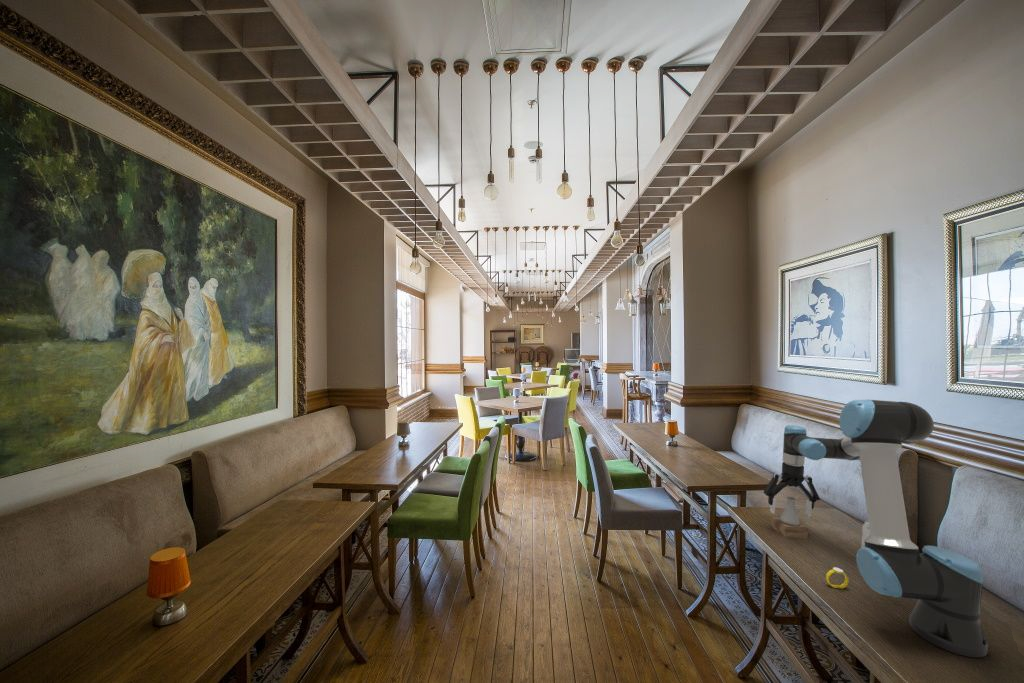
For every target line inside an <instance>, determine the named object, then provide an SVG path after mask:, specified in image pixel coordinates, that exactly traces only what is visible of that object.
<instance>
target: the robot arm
mask: <svg viewBox="0 0 1024 683" xmlns="http://www.w3.org/2000/svg"><path fill="white" fill-rule="evenodd" d="M839 415H840V416H839V420H838V421H839V428H840V431H842V434H843V435H844V436H845V437H843V438H826V437H811V436H808V434H807V428H806V427H804V426H800V425H795V424H794V425H793V424H792V425H785V427H784V431H783V448H782V463H781V464H782V465H781V474H780V473H779V474H778V473H777V472H773V475H772V477H771V479H770V481H769V482H768V484H767V486H766V487H765V489H764V490H763V494H764V495H765V496H767V498H768V499H767V500H768V501H767V504H768V505H769V512H770V513H771V514H772V515H775V514H776V513H775V512H776V496H777V495H778V494H779V493H780V492H781V491H782V490H784V488H787V486H788V487H795V488H797V487H799V488H800V490H802V492H803V493H804V494H805V496H806V497H807V498H806V500H805V501H806V502H805V503H806V504H805V515H806V516H807V517H808V518H812V510H814V508H815V503H816V502H817V501H820V500H821V497H820V496H819V494H818V492H817V489H816V487H815V485H814V483H813V478H812V477H811V476H809V475H808V474H807V475H806V476H805V475H804V473H805V466H804V465H805V461H806V460H805V459H806V458H807V459H809V460H811V461H819V460H821V459H834V460H844V461H845V460H846V461H859V462H860V469H861V476H862V485H863V492H864V493H863V494H864V498H865V506H866V514H867V521H868V523H869V530H870V535H869V536H868V537H867V538H866V539H865V540H864V542H865V547H862V548H861V547H860V548H859V549H858V550H857V553H856V554H855V555H856V556H855V557H856V564H857V569H858V570H859V573H860V575H861V577H862V579H863V580H864V581H865V583H866V585H868V586H869V587H870V588H871V589H872V590H873V591H874V592H876V593H878V595H879V594H880V595H882V596H888V597H893V598H904V599H905V598H906V599H915V600H917V602H916V604H915V605H914V607H913V610H912V611H911V612H910V613H909V616H908V617H909V618H908V619H909V620H908V624H909V627H910V628H911V630H913V632H915V634H916V635H918V636H920V638H922V639H924V640H925V641H927V642H928V643H930V644H932V645H935V646H936V647H939V648H940V649H943V650H945V651H947V652H949V653H950V652H951V653H953V654H957V655H960V656H965V657H968V658H976V659H977V658H979V659H980V658H984V657H986V656H987V655H988V650H989V649H988V646H989V645H988V642H987V637H986V635H985V633H984V630H983V627H982V623H981V620H980V619H981V605H982V597H983V585H984V580H983V579H984V578H983V577H984V576H983V575H984V574H983V573H984V572H983V569H982V567H981V566H980V565H979V564H978V563H977V562H975V561H973V560H971V559H970V558H968V557H966V556H965V555H962V554H960V553H958V552H955V551H953V550H949V549H946V548H943V547H939V546H935V545H923V547H922V549H921V551H922V553H921V552H920V548H919V546H917V544H916V543H914V542H912V540H911V538H910V531H909V525H908V519H907V518H908V517H907V512H906V507H905V500H904V494H903V493H904V492H903V486H902V480H901V475H900V468H899V461H898V455H897V451H898V450H900V449H901V448H902V447H903V444H906V445H910V444H915V443H919V442H921V441H924V440H926V439H928V438H929V437H930V436H931V435H932V433H933V431H934V427H935V426H934V425H935V424H934V419H933V417H932V416H931V415H930V413H929V412H928V411H927V410H926V409H925V408H923V407H921V406H920V405H918V404H916V403H911V402H908V401H891V400H879V399H878V400H877V399H855V400H850V401H849V402H847V403H846V404H845V405H844V406H843V408H842V409H841V411H840V414H839ZM780 479H781V480H780ZM779 480H780V481H779ZM778 482H779V483H778ZM803 482H806V483H807V484H806V485H807V486H808V488H809V490H810V492H809V491H808V490H807V488H806V487H805V486H804V484H803Z"/></svg>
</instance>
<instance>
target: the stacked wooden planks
mask: <svg viewBox="0 0 1024 683" xmlns="http://www.w3.org/2000/svg"><path fill="white" fill-rule="evenodd" d="M780 517H781V516H772V517H771V528H772V529H774V531H776V532H777V533H778V534H780V535H781V536H782V537H784V538H786V539H808V534H809V527H808V526H807V525H805V524H804V523H802V522H801V521H800V525H799V526H796V525H789V524H786V523H783V522H782V521H781V520H780Z"/></svg>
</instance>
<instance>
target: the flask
mask: <svg viewBox="0 0 1024 683" xmlns="http://www.w3.org/2000/svg"><path fill="white" fill-rule="evenodd" d="M786 500H787V501H786V506H785V507H784V510H783V512H782V514H781V515H780V516H779V517H780V520H781V521H782V522H783V523H786V524H789V525H796V526H799V525H800V522H801V521H800V518H799V516H798V513H797V510H796V498H795V497H792V496H787V497H786Z"/></svg>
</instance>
